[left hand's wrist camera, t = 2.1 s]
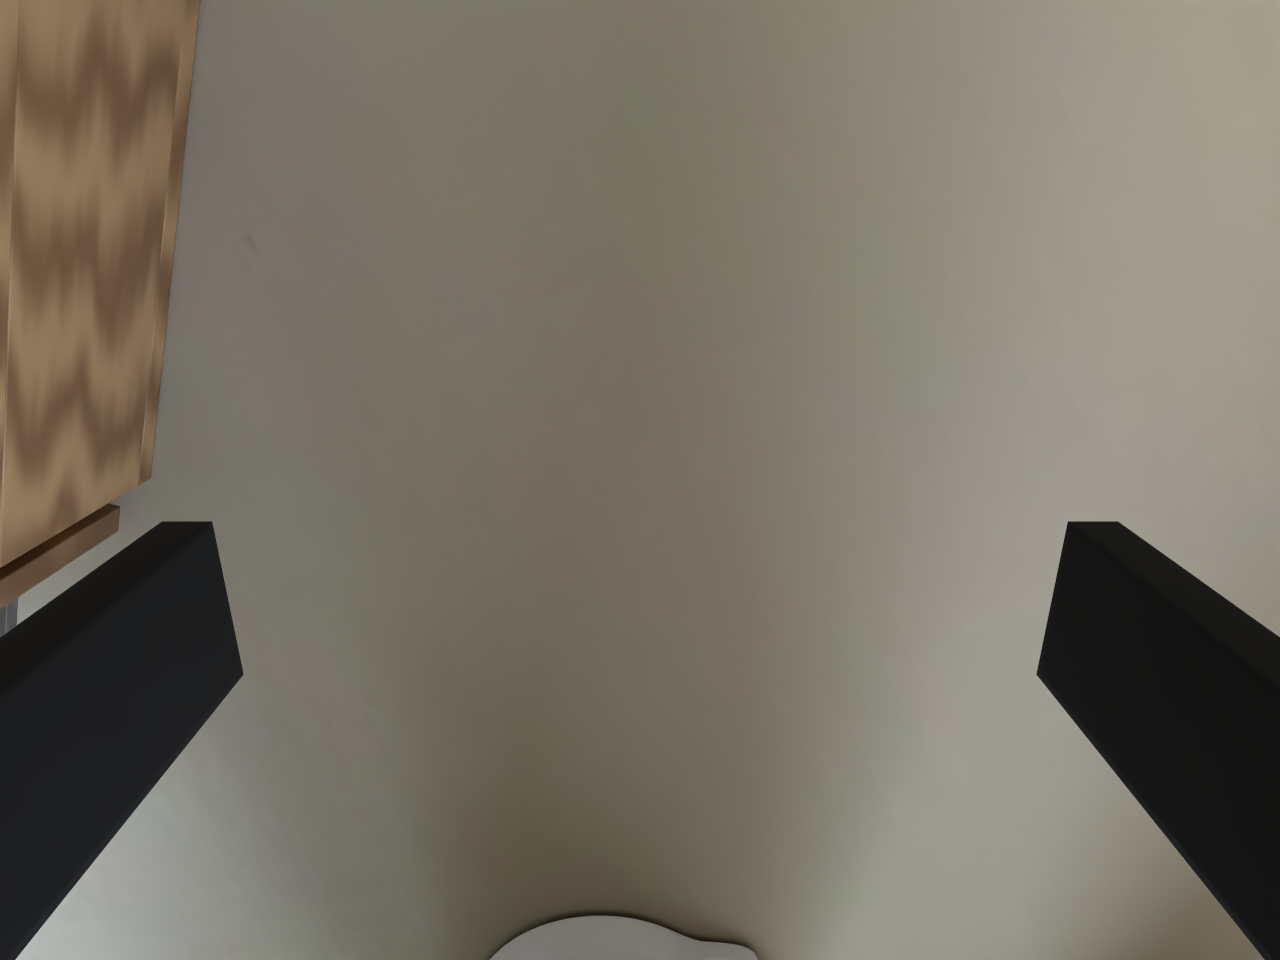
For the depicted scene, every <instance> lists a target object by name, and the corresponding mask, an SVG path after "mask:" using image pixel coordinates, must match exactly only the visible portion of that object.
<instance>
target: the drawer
mask: <svg viewBox="0 0 1280 960" xmlns="http://www.w3.org/2000/svg"><path fill="white" fill-rule="evenodd" d="M119 515H120V506H116V505H113V504H109V503H108V504H106V505H105V506H103V507H101V508H99V509H98V510H96V511H94V512H93V513H91V514H89V515H88V516H86V517H84V518H83V519H81V520H79V521H78V522H76V523H74V524H73V525H71V526H69V527H68V528H66V529H64V530H63V531H61V532H59V533H58V534H56V535H54V536H53V537H51V538H49V539H48V540H46V541H44V542H42V543H41V544H39V545H37V546H36V547H34V548H32V549H31V550H29V551H27V552H26V553H24V554H22V555H21V556H19V557H17V558H16V559H14V560H12V561H11V562H9V563H7V564H6V565H4V566H2V567H0V637H2V636H3V635H4V634H6V633H7V632H9V631H10V630H11V629H13V628H14V627H16V626H17V607H18V597H19V596H20V595H22V594H23V593H25V592H26V591H28V590H29V589H31V588H32V587H34V586H35V585H37V584H38V583H40V582H41V581H43V580H45V579H46V578H48V577H49V576H51V575H52V574H54V573H55V572H57V571H58V570H60V569H61V568H63V567H64V566H66V565H67V564H69V563H70V562H72V561H73V560H75V559H76V558H78V557H79V556H81V555H82V554H84V553H85V552H87V551H88V550H90V549H91V548H93V547H94V546H96V545H97V544H99V543H100V542H102V541H104V540H105V539H107V538H108V537H110V536H111V535H113V534H114V533H116V532H117V531H118V526H119Z"/></svg>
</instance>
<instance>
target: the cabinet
mask: <svg viewBox="0 0 1280 960" xmlns="http://www.w3.org/2000/svg"><path fill="white" fill-rule="evenodd" d="M199 6H200V0H0V567H2V566H4V565H6V564H7V563H9V562H11V561H12V560H14V559H16V558H17V557H19V556H21V555H22V554H24V553H26V552H27V551H29V550H31V549H32V548H34V547H36V546H37V545H39V544H41V543H42V542H44V541H46V540H48V539H49V538H51V537H53V536H54V535H56V534H58V533H59V532H61V531H63V530H64V529H66V528H68V527H69V526H71V525H73V524H74V523H76V522H78V521H79V520H81V519H83V518H84V517H86V516H88V515H89V514H91V513H93V512H94V511H96V510H98V509H99V508H101V507H103V506H105V505H106V504H108V503H110V502H111V501H113V500H115V499H116V498H118V497H120V496H121V495H123V494H125V493H126V492H128V491H130V490H131V489H133V488H135V487H136V486H137V485H140V484H142V483H144V482H145V481H147V480H149V479H150V477H151V467H152V458H153V448H154V439H155V429H156V419H157V410H158V400H159V391H160V381H161V371H162V362H163V352H164V342H165V333H166V323H167V314H168V304H169V294H170V285H171V275H172V265H173V256H174V246H175V237H176V227H177V217H178V208H179V198H180V188H181V179H182V169H183V160H184V150H185V140H186V131H187V121H188V112H189V102H190V92H191V83H192V73H193V63H194V54H195V44H196V35H197V25H198V15H199Z"/></svg>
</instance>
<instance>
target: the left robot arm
mask: <svg viewBox="0 0 1280 960" xmlns="http://www.w3.org/2000/svg"><path fill="white" fill-rule="evenodd" d="M242 676H243V670H242V665H241V660H240V655H239V651H238V646H237V641H236V636H235V631H234V626H233V621H232V616H231V612H230V607H229V602H228V597H227V592H226V587H225V582H224V578H223V573H222V568H221V563H220V558H219V553H218V548H217V543H216V539H215V534H214V529H213V524H212V522H161V523H159V524H158V525H157V526H155V527H154V528H152V529H151V530H150V531H148V532H147V533H145V534H144V535H143V536H141V537H140V538H138V539H137V540H136V541H134V542H133V543H131V544H130V545H129V546H127V547H126V548H124V549H123V550H122V551H120V552H119V553H117V554H116V555H115V556H113V557H112V558H111V559H109V560H108V561H106V562H105V563H104V564H102V565H101V566H99V567H98V568H97V569H95V570H94V571H92V572H91V573H90V574H88V575H87V576H85V577H84V578H83V579H81V580H80V581H78V582H77V583H76V584H74V585H73V586H71V587H70V588H69V589H67V590H66V591H64V592H63V593H62V594H60V595H59V596H57V597H56V598H55V599H53V600H52V601H50V602H49V603H48V604H46V605H45V606H43V607H42V608H41V609H39V610H38V611H36V612H35V613H34V614H32V615H31V616H30V617H28V618H27V619H25V620H24V621H23V622H21V623H20V624H18V625H17V626H16V627H14V628H13V629H11V630H10V631H9V632H7V633H6V634H4V635H3V636H2V637H0V960H15V959H16V958H17V957H18V955H19V954H20V953H21V952H22V950H23V949H24V948H25V947H26V945H27V944H28V943H29V942H30V940H31V939H32V938H33V937H34V935H35V934H36V933H37V932H38V930H39V929H40V928H41V927H42V925H43V924H44V923H45V922H46V920H47V919H48V918H49V917H50V915H51V914H52V913H53V912H54V910H55V909H56V908H57V907H58V905H59V904H60V903H61V902H62V900H63V899H64V898H65V897H66V895H67V894H68V893H69V892H70V890H71V889H72V888H73V887H74V885H75V884H76V883H77V882H78V880H79V879H80V878H81V877H82V875H83V874H84V873H85V872H86V870H87V869H88V868H89V867H90V865H91V864H92V863H93V862H94V860H95V859H96V858H97V857H98V855H99V854H100V853H101V852H102V850H103V849H104V848H105V847H106V845H107V844H108V843H109V842H110V840H111V839H112V838H113V837H114V835H115V834H116V833H117V832H118V830H119V829H120V828H121V827H122V825H123V824H124V823H125V822H126V820H127V819H128V818H129V817H130V815H131V814H132V813H133V812H134V810H135V809H136V808H137V807H138V805H139V804H140V803H141V802H142V800H143V799H144V798H145V797H146V795H147V794H148V793H149V792H150V790H151V789H152V788H153V787H154V785H155V784H156V783H157V782H158V780H159V779H160V778H161V777H162V776H163V774H164V773H165V772H166V771H167V769H168V768H169V767H170V766H171V764H172V763H173V762H174V761H175V759H176V758H177V757H178V756H179V754H180V753H181V752H182V751H183V749H184V748H185V747H186V746H187V744H188V743H189V742H190V741H191V739H192V738H193V737H194V736H195V734H196V733H197V732H198V731H199V729H200V728H201V727H202V726H203V724H204V723H205V722H206V721H207V719H208V718H209V717H210V716H211V714H212V713H213V712H214V711H215V709H216V708H217V707H218V706H219V704H220V703H221V702H222V701H223V699H224V698H225V697H226V696H227V694H228V693H229V692H230V691H231V689H232V688H233V687H234V686H235V684H236V683H237V682H238V681H239V679H240V678H241V677H242ZM1037 676H1038V677H1039V678H1040V679H1041V681H1042V682H1043V683H1044V684H1045V686H1046V687H1047V688H1048V689H1049V691H1050V692H1051V693H1052V694H1053V696H1054V697H1055V698H1056V699H1057V701H1058V702H1059V703H1060V704H1061V706H1062V707H1063V708H1064V709H1065V711H1066V712H1067V713H1068V714H1069V716H1070V717H1071V718H1072V719H1073V721H1074V722H1075V723H1076V724H1077V726H1078V727H1079V728H1080V729H1081V731H1082V732H1083V733H1084V734H1085V736H1086V737H1087V738H1088V739H1089V741H1090V742H1091V743H1092V744H1093V746H1094V747H1095V748H1096V749H1097V751H1098V752H1099V753H1100V754H1101V756H1102V757H1103V758H1104V759H1105V761H1106V762H1107V763H1108V764H1109V766H1110V767H1111V768H1112V769H1113V771H1114V772H1115V773H1116V774H1117V776H1118V777H1119V778H1120V779H1121V780H1122V782H1123V783H1124V784H1125V785H1126V787H1127V788H1128V789H1129V790H1130V792H1131V793H1132V794H1133V795H1134V797H1135V798H1136V799H1137V800H1138V802H1139V803H1140V804H1141V805H1142V807H1143V808H1144V809H1145V810H1146V812H1147V813H1148V814H1149V815H1150V817H1151V818H1152V819H1153V820H1154V822H1155V823H1156V824H1157V825H1158V827H1159V828H1160V829H1161V830H1162V832H1163V833H1164V834H1165V835H1166V837H1167V838H1168V839H1169V840H1170V842H1171V843H1172V844H1173V845H1174V847H1175V848H1176V849H1177V850H1178V852H1179V853H1180V854H1181V855H1182V857H1183V858H1184V859H1185V860H1186V862H1187V863H1188V864H1189V865H1190V867H1191V868H1192V869H1193V870H1194V872H1195V873H1196V874H1197V875H1198V877H1199V878H1200V879H1201V880H1202V882H1203V883H1204V884H1205V885H1206V887H1207V888H1208V889H1209V890H1210V892H1211V893H1212V894H1213V895H1214V897H1215V898H1216V899H1217V900H1218V902H1219V903H1220V904H1221V905H1222V907H1223V908H1224V909H1225V910H1226V912H1227V913H1228V914H1229V915H1230V917H1231V918H1232V919H1233V920H1234V922H1235V923H1236V924H1237V925H1238V927H1239V928H1240V929H1241V930H1242V932H1243V933H1244V934H1245V935H1246V937H1247V938H1248V939H1249V940H1250V942H1251V943H1252V944H1253V945H1254V947H1255V948H1256V949H1257V950H1258V952H1259V953H1260V954H1261V955H1262V957H1263V958H1264V959H1265V960H1280V637H1278V636H1277V635H1276V634H1274V633H1273V632H1271V631H1270V630H1269V629H1267V628H1266V627H1264V626H1263V625H1262V624H1260V623H1259V622H1257V621H1256V620H1255V619H1253V618H1252V617H1250V616H1249V615H1248V614H1246V613H1245V612H1243V611H1242V610H1241V609H1239V608H1238V607H1237V606H1235V605H1234V604H1232V603H1231V602H1230V601H1228V600H1227V599H1225V598H1224V597H1223V596H1221V595H1220V594H1218V593H1217V592H1216V591H1214V590H1213V589H1211V588H1210V587H1209V586H1207V585H1206V584H1204V583H1203V582H1202V581H1200V580H1199V579H1197V578H1196V577H1195V576H1193V575H1192V574H1190V573H1189V572H1188V571H1186V570H1185V569H1183V568H1182V567H1181V566H1179V565H1178V564H1176V563H1175V562H1174V561H1172V560H1171V559H1169V558H1168V557H1167V556H1165V555H1164V554H1162V553H1161V552H1160V551H1158V550H1157V549H1156V548H1154V547H1153V546H1151V545H1150V544H1149V543H1147V542H1146V541H1144V540H1143V539H1142V538H1140V537H1139V536H1137V535H1136V534H1135V533H1133V532H1132V531H1130V530H1129V529H1128V528H1126V527H1125V526H1123V525H1122V524H1121V523H1119V522H1068V524H1067V529H1066V534H1065V539H1064V543H1063V548H1062V553H1061V558H1060V563H1059V568H1058V573H1057V577H1056V582H1055V587H1054V592H1053V597H1052V602H1051V607H1050V612H1049V616H1048V621H1047V626H1046V631H1045V636H1044V641H1043V646H1042V651H1041V655H1040V660H1039V665H1038V670H1037Z"/></svg>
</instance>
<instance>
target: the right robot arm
mask: <svg viewBox="0 0 1280 960" xmlns="http://www.w3.org/2000/svg"><path fill="white" fill-rule="evenodd" d="M490 960H758V958H757V956H756V955H755V953H754V952H753V951H752V950H750V949H749V948H747V947H744V946H741V945H736V944H729V943H720V942H708V941H698V940H695V939H692V938H689V937H686V936H683V935H681V934H679V933H677V932H674V931H672V930H670V929H667V928H665V927H662V926H659V925H657V924H653V923H650V922H647V921H642V920H638V919H633V918H627V917H619V916H582V917H574V918H568V919H563V920H558V921H554V922H551V923H547V924H544V925H542V926H539V927H536V928H534V929H531V930H529V931H527V932H525V933H523V934H521V935H520V936H518V937H516V938H514V939H513V940H512V941H510V942H509V943H507V944H506V945H505V946H503V947H502V948H501V949H500V950H499V951H498V952H496V953H495V954H494V956H493V957H492V958H491V959H490Z"/></svg>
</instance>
